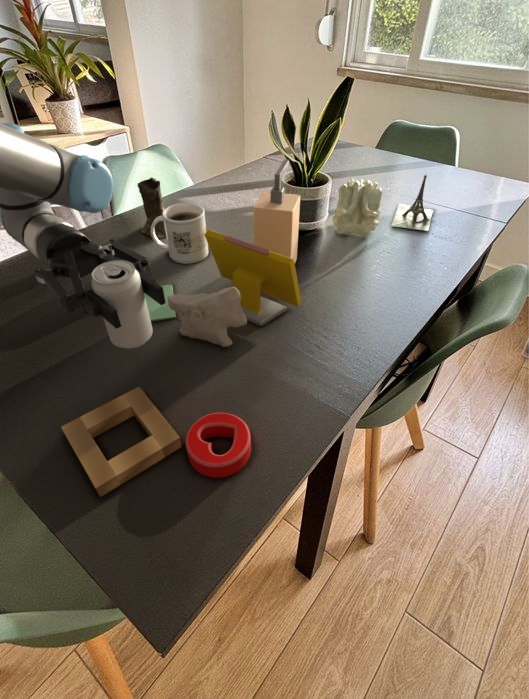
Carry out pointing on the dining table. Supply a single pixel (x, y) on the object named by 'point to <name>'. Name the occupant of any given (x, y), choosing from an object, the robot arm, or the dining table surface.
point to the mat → (160, 306)
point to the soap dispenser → (277, 218)
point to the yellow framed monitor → (256, 276)
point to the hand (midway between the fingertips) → (139, 307)
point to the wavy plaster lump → (358, 208)
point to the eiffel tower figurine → (414, 214)
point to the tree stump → (152, 206)
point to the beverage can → (123, 302)
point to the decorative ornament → (203, 452)
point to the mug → (183, 232)
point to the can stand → (131, 460)
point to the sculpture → (209, 314)
